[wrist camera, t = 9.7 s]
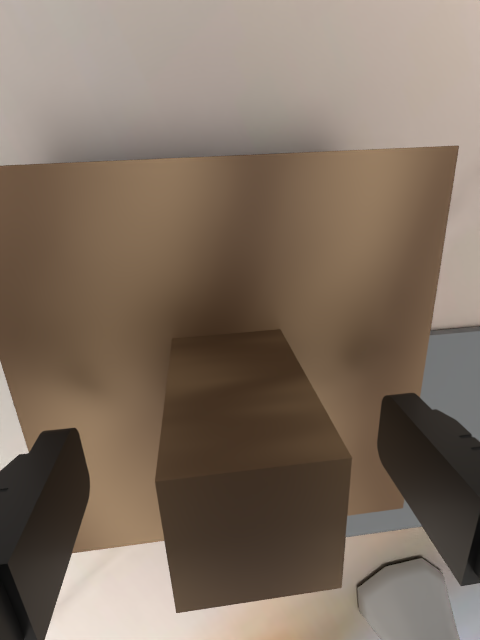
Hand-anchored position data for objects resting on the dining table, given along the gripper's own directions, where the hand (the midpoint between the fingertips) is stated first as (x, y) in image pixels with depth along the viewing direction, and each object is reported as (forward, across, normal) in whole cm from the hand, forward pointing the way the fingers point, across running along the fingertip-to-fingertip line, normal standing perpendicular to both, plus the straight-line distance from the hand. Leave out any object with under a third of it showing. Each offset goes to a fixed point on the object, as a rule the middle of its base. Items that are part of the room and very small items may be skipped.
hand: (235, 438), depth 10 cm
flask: (+11, -13, +25) cm, 30 cm away
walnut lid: (+4, 0, 0) cm, 4 cm away
